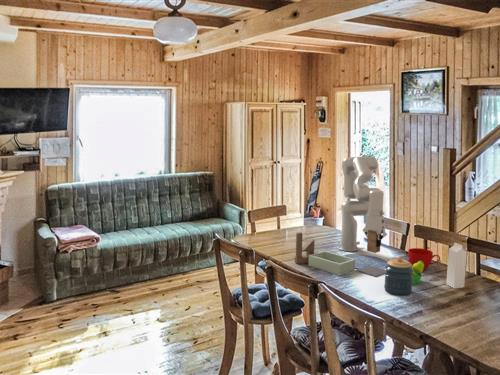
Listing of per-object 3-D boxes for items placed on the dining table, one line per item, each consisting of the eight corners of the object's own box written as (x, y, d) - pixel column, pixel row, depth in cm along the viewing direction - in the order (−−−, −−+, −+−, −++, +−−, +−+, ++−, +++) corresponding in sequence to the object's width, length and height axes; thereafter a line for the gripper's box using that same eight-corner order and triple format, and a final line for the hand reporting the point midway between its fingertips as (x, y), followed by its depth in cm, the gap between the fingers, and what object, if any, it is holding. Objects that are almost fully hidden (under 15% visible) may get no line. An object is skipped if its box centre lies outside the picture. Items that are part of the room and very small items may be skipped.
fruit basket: (404, 277, 244) (405, 256, 243) (422, 278, 242) (423, 258, 240) (405, 284, 234) (406, 263, 232) (423, 286, 231) (425, 264, 229)
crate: (323, 260, 272) (324, 250, 271) (354, 269, 255) (355, 259, 254) (308, 265, 262) (308, 255, 261) (339, 275, 246) (339, 264, 245)
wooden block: (313, 262, 267) (314, 232, 264) (296, 264, 264) (297, 233, 262) (311, 261, 270) (312, 231, 268) (294, 262, 268) (295, 232, 265)
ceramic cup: (439, 274, 249) (440, 256, 248) (406, 270, 255) (408, 253, 253) (438, 267, 261) (440, 250, 260) (407, 263, 267) (408, 247, 266)
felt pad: (369, 266, 262) (369, 265, 262) (389, 271, 252) (389, 270, 252) (355, 271, 253) (355, 269, 253) (375, 277, 244) (376, 276, 244)
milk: (456, 283, 235) (459, 242, 232) (464, 287, 230) (467, 245, 226) (445, 284, 234) (449, 242, 231) (453, 288, 228) (457, 245, 225)
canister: (408, 298, 215) (410, 262, 212) (380, 292, 222) (382, 257, 219) (414, 289, 226) (416, 255, 223) (388, 284, 233) (390, 251, 230)
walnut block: (372, 249, 254) (373, 228, 253) (380, 251, 251) (381, 230, 249) (366, 251, 251) (367, 229, 249) (374, 253, 247) (375, 231, 246)
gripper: (393, 214, 244) (391, 247, 247) (366, 209, 257) (364, 241, 259) (385, 216, 239) (383, 250, 242) (358, 211, 252) (356, 243, 254)
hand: (373, 245), depth 250 cm, fingers closed on walnut block, 5 cm apart
